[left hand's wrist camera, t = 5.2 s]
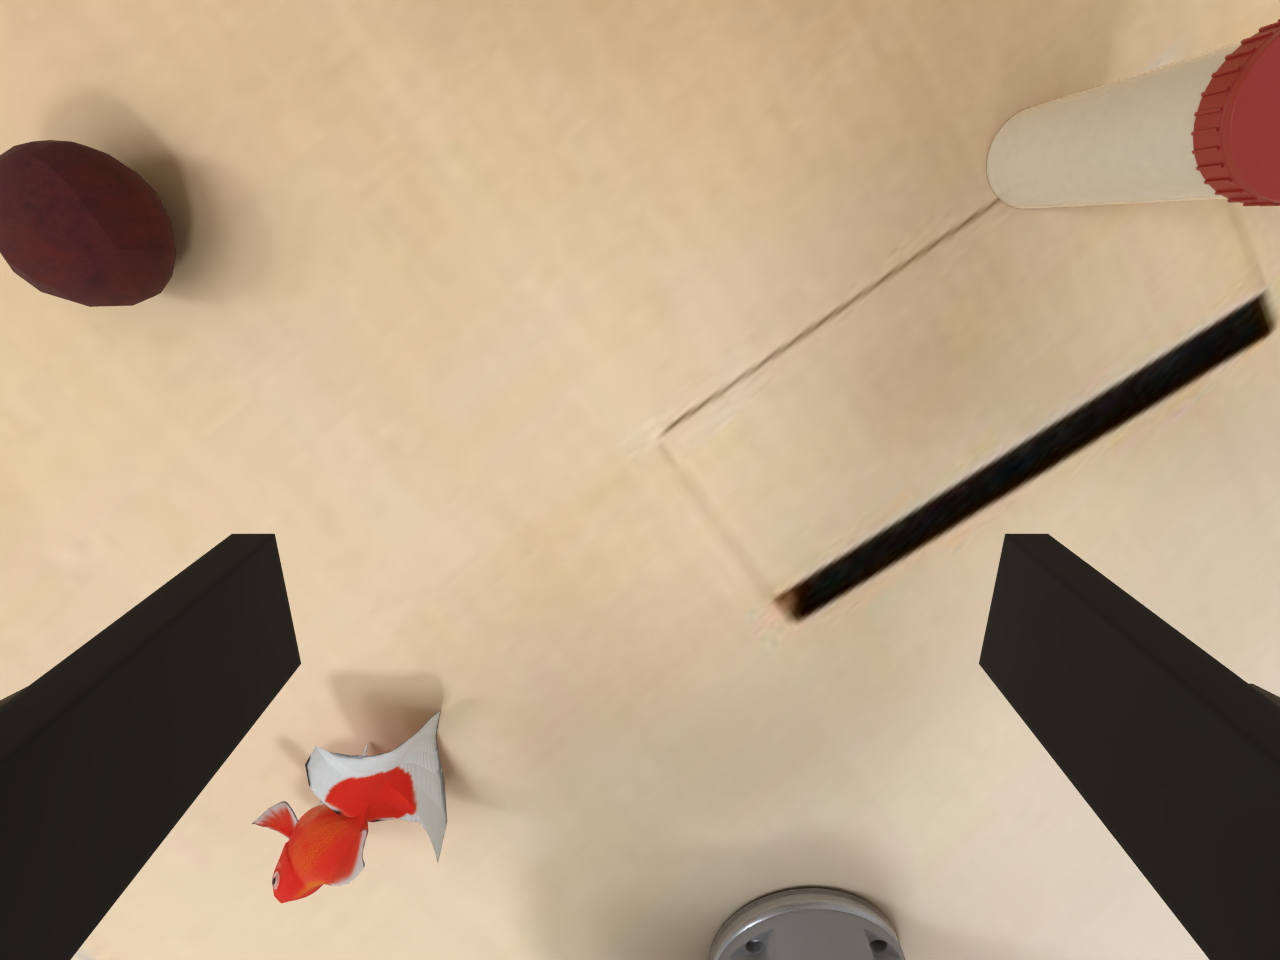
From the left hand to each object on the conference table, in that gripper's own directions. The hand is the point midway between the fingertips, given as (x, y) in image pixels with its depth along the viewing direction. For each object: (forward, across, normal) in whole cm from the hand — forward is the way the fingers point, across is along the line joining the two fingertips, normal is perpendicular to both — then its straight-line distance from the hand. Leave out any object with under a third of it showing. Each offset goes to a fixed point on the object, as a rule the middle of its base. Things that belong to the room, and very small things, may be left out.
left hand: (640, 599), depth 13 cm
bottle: (+28, -20, -10) cm, 36 cm away
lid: (+12, -20, -10) cm, 26 cm away
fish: (+28, +19, +29) cm, 45 cm away
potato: (+28, +27, -6) cm, 39 cm away
